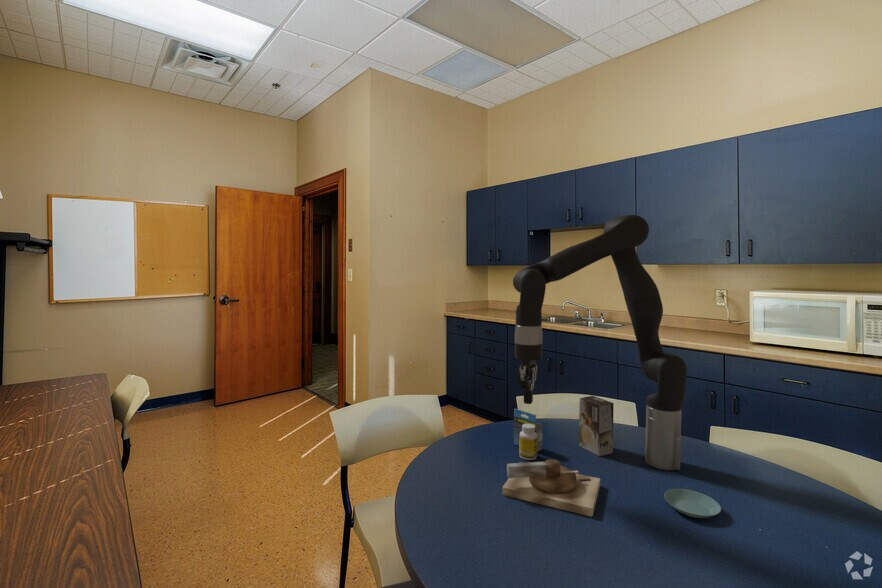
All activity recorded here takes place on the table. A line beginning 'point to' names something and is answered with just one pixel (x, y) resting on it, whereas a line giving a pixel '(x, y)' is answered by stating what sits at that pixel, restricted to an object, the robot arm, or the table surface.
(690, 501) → the saucer
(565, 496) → the base plate
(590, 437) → the coffee box
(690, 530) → the table surface
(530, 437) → the supplement bottle
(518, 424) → the label tape box
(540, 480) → the dial
